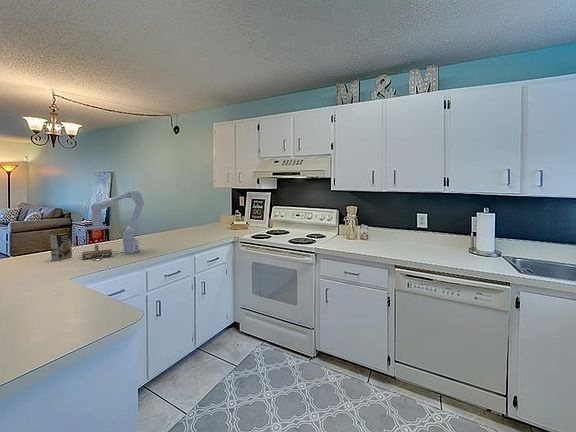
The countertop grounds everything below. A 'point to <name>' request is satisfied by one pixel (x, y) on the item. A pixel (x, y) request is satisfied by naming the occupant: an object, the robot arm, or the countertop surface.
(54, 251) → the coffee box
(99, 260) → the puck
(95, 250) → the scraper
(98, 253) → the wooden stand
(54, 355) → the countertop surface
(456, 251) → the countertop surface
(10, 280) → the countertop surface
